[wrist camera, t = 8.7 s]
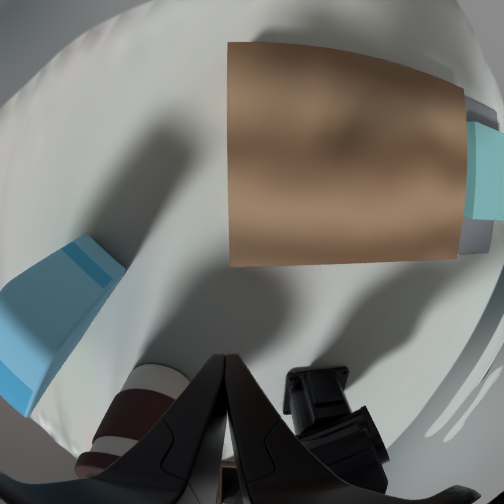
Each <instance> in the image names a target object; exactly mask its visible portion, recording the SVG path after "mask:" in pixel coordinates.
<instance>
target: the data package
mask: <svg viewBox="0 0 504 504" xmlns="http://www.w3.org/2000/svg"><path fill="white" fill-rule="evenodd" d="M125 272H126V270H125V268H124V267H123V266H122V265H121V264H119V263H118V262H117V261H116V260H115V259H114V258H113V257H112V256H110V255H109V254H108V253H107V252H106V251H105V250H104V249H103V248H102V247H101V246H100V245H99V244H97V243H96V242H95V241H94V240H93V239H92V238H91V237H90V236H89V235H84V236H82V237H80V238H78V239H76V240H75V241H73V242H71V243H69V244H68V245H66V246H64V247H63V248H61V249H59V250H58V251H56V252H54V253H53V254H51V255H49V256H48V257H46V258H45V259H43V260H41V261H40V262H38V263H37V264H35V265H34V266H32V267H30V268H29V269H27V270H26V271H24V272H23V273H21V274H20V275H18V276H17V277H15V278H14V279H12V280H11V281H10V282H9V283H7V284H6V285H5V286H4V288H3V289H2V290H1V291H0V395H1V396H2V397H3V398H4V399H5V400H6V401H7V402H8V403H10V404H11V405H12V406H13V407H14V408H15V409H16V410H17V411H19V412H20V413H21V414H22V415H23V416H24V417H29V415H30V414H31V413H32V411H33V409H34V408H35V406H36V405H37V403H38V401H39V400H40V398H41V397H42V395H43V393H44V392H45V390H46V389H47V387H48V386H49V384H50V383H51V381H52V380H53V378H54V377H55V375H56V374H57V372H58V371H59V370H60V368H61V367H62V365H63V364H64V362H65V361H66V360H67V358H68V357H69V355H70V354H71V353H72V351H73V350H74V348H75V347H76V345H77V344H78V343H79V341H80V340H81V338H82V336H83V335H84V333H85V332H86V330H87V329H88V327H89V325H90V324H91V322H92V321H93V319H94V318H95V316H96V315H97V313H98V312H99V310H100V309H101V307H102V306H103V304H104V303H105V301H106V300H107V298H108V297H109V295H110V294H111V293H112V291H113V290H114V288H115V287H116V286H117V284H118V283H119V281H120V280H121V279H122V277H123V276H124V274H125Z"/></svg>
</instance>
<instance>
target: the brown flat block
mask: <svg viewBox="0 0 504 504" xmlns="http://www.w3.org/2000/svg"><path fill="white" fill-rule="evenodd" d="M227 155H228V208H229V243H230V267H253V266H290V265H321V264H349V263H374V262H397V261H418V260H438V259H456V258H457V253H458V248H459V242H460V236H461V229H462V222H463V215H464V206H465V195H466V181H467V121H466V108H465V97H464V89H463V88H461V87H458V86H456V85H454V84H452V83H449V82H447V81H444V80H442V79H439V78H437V77H434V76H432V75H429V74H426V73H424V72H421V71H418V70H415V69H412V68H409V67H406V66H403V65H399V64H396V63H393V62H389V61H385V60H382V59H378V58H374V57H370V56H365V55H361V54H356V53H351V52H346V51H341V50H335V49H329V48H322V47H315V46H306V45H297V44H285V43H267V42H228V52H227Z"/></svg>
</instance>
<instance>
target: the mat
mask: <svg viewBox="0 0 504 504" xmlns="http://www.w3.org/2000/svg"><path fill="white" fill-rule="evenodd" d="M464 97H465V96H464ZM465 108H466V121H467V122H472V121H475V122H478V123H480V124H483V125H485V126H488V127H490V128H492V129H495V130H497V131H498V126H497V113H496V112H495V111H494V110H492V109H490V108H488V107H486V106H484V105H482V104H480V103H478V102H476V101H474V100H472V99H470V98H467V97H465ZM493 223H494V220H480V219H471V218H468V217H465V216H463V222H462V229H461V236H460V242H459V248H458V253H457V254H475V253H488V252H489V247H490V242H491V236H492V230H493Z"/></svg>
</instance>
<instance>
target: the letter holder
mask: <svg viewBox="0 0 504 504" xmlns="http://www.w3.org/2000/svg"><path fill="white" fill-rule="evenodd" d="M215 504H244V503H243V498H242V493H241V488H240V483H239V478H238V473H237V468H236V463H230V462H221V466H220V473H219V480H218V488H217V495H216V502H215Z"/></svg>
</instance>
